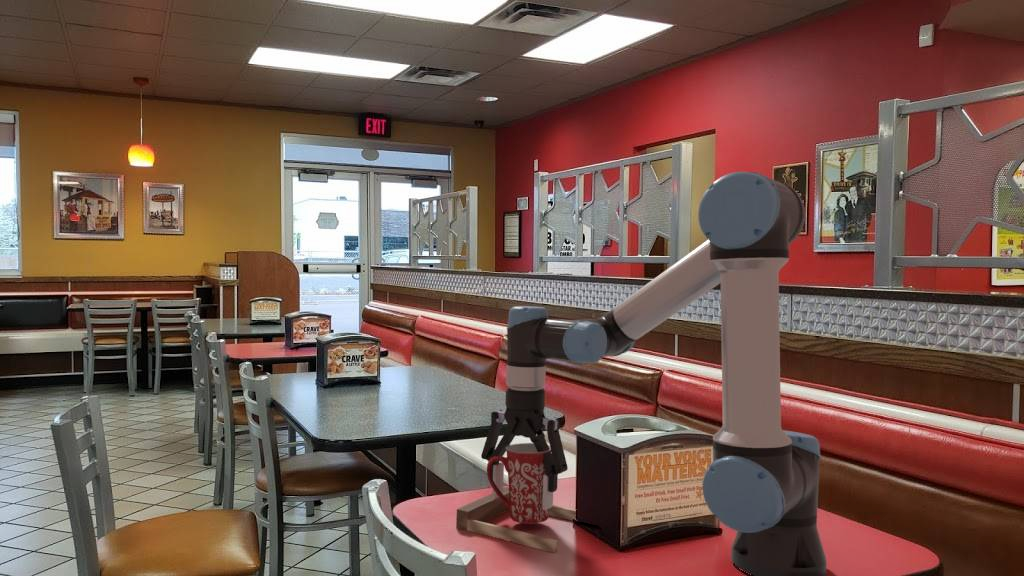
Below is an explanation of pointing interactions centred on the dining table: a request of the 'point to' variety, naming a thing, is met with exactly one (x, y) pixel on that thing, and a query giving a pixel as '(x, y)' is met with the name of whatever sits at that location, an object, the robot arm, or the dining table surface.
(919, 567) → the dining table surface
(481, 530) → the channel
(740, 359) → the robot arm
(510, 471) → the mug
